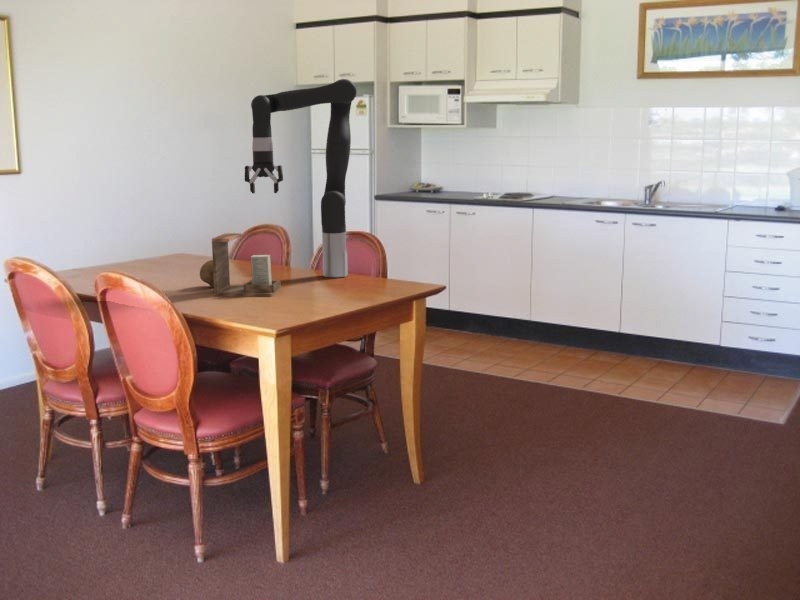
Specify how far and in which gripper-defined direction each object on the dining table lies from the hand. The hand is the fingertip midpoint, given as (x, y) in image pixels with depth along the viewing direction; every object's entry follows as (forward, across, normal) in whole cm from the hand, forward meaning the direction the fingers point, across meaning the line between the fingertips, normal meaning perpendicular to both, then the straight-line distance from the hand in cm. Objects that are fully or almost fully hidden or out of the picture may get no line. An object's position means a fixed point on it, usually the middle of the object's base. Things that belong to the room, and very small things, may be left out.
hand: (264, 193), depth 335 cm
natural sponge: (+33, +16, +19) cm, 41 cm away
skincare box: (+32, -4, +29) cm, 43 cm away
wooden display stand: (+33, 0, +29) cm, 44 cm away
